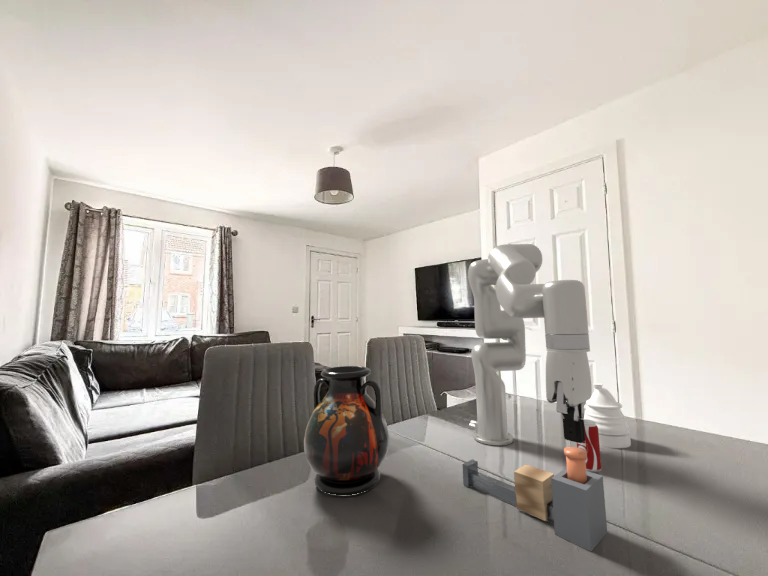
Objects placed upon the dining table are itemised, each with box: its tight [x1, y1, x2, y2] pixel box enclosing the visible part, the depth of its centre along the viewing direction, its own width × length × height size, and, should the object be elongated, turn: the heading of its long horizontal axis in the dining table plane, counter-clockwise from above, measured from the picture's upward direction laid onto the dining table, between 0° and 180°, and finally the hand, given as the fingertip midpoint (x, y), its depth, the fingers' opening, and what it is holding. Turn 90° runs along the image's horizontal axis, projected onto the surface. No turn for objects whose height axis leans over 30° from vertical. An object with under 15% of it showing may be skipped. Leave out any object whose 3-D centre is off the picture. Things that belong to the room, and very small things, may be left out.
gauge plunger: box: [563, 446, 587, 484], centre depth 63 cm, size 4×4×7 cm
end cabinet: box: [551, 466, 608, 552], centre depth 62 cm, size 6×8×10 cm
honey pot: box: [584, 382, 632, 449], centre depth 107 cm, size 13×13×18 cm
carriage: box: [513, 463, 555, 522], centre depth 69 cm, size 6×5×8 cm
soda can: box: [576, 419, 602, 473], centre depth 88 cm, size 5×5×12 cm
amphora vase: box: [303, 365, 390, 495], centre depth 85 cm, size 22×22×28 cm
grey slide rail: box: [461, 458, 554, 525], centre depth 73 cm, size 23×4×5 cm, turn 39°
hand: (574, 440), depth 63 cm, fingers closed
